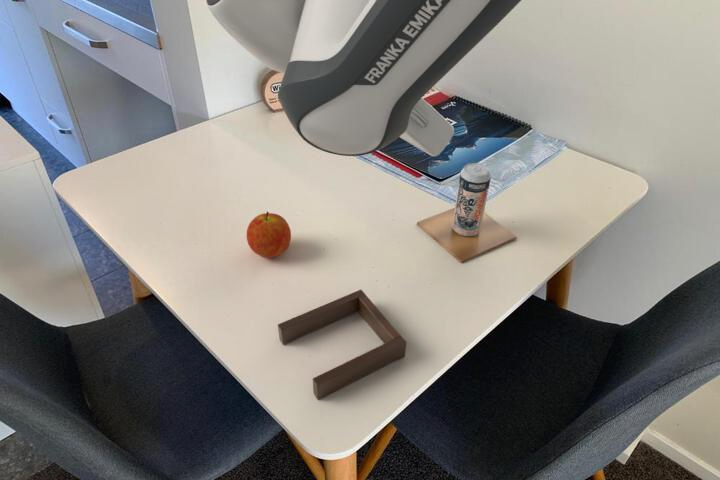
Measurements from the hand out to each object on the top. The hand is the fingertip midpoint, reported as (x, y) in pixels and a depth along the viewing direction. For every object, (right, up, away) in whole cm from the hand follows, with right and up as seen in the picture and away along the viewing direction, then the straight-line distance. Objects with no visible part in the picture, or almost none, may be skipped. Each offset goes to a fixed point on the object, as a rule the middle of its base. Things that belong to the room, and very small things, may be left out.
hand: (409, 131), depth 64 cm
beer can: (+12, -12, +26) cm, 31 cm away
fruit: (-21, -15, +21) cm, 33 cm away
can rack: (-9, -28, +6) cm, 30 cm away
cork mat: (+12, -12, +26) cm, 31 cm away
